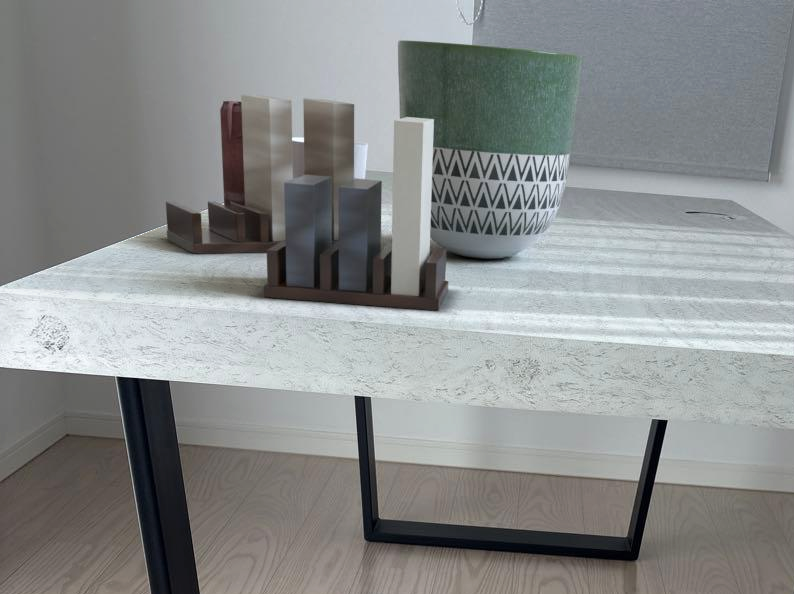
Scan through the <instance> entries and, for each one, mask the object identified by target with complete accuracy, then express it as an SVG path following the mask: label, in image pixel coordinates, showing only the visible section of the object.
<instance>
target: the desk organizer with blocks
mask: <svg viewBox="0 0 794 594" xmlns="http://www.w3.org/2000/svg"><path fill="white" fill-rule="evenodd" d="M382 183H383V181H382V180H380V179H379V180H376V179H366V178H365V179H354V180H352V181H350V182H348V183H346V184H344V185H342V186H340V187H339V240H338V241H337V242H336V243H334V244H333V245H332V177H329V176H316V175H303V176H301V177H298V178H296V179H293V180H290V181H288V182H285V183H284V192H285V240H283V241H281V242H280V243H278V244H276V245H275V246H273V247H271V248H270V249H268V250H267V252H266V271H267V272H266V274H267V275H266V276H267V277H266V279H267V283H266V284H265V285H264V286H263V294H264V295H263V296H264V298H270V299H283V300H293V301H294V300H295V301H307V302H309V301H310V302H319V303H321V302H322V303H333V304H347V305H359V306H371V307H372V306H373V307H385V308H397V309H398V308H399V309H413V310H423V311H436V312H438V311H439V310H440V309H441V307H442V304H443V302H444V300H445V298H446V296H447V295H448V292H449V280H446V272H447V271H446V270H447V250H446V248H442V247H440V246H437V247H436V248H435V249H434V251H433V252H432V254H431V255H430V256H429V260H428V261H427V262H426V284H425V287H424V288H423V290H422V292H421V293H420V295H419V296H407V295H394V294H391V266H392V242H390V243H389V242H388V243H387V244H386V245H385V246H384V247H383V248H382V191H383V190H382V187H383V185H382Z"/></svg>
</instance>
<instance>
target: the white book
mask: <svg viewBox="0 0 794 594" xmlns="http://www.w3.org/2000/svg"><path fill="white" fill-rule="evenodd" d="M433 132H434V119H426V118H414V117H405V118H401V119H400V118H397V119H394V121H393V159H392V160H393V162H392V163H393V165H392V166H393V168H392V170H393V171H392V211H391V212H392V213H391V215H392V218H391V244H392V266H391V294H394V295H407V296H419V295H420V293H421V292H422V290H423V288H424V287H425V284H426V262H427V261H428V260H429V258H430V256H431V255H430V252H431V249H430V248H431V238H430V224H431V193H432V162H433Z"/></svg>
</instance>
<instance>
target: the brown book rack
mask: <svg viewBox="0 0 794 594" xmlns="http://www.w3.org/2000/svg"><path fill="white" fill-rule="evenodd" d="M240 100H241V101H240V102H241V104H242V132H243V160H244V189H245V204H242V203H240V202H230V207H228V206H225V205H224V203H223V204H222V203H220V202H218V201H214V200H212V201H207V215H208V229H203V225H202V224H203V223H202V213H201V212H199V211H197V210H194V209H192V208H190V207H188V206H185V205H183V204H180V203H178V202H176V201H174V200H173V201H172V200H166V201H165V211H166V213H165V214H166V227H167V229H166V240H167V241H169V242H171V243H173V244H175V245H176V246H178V247H180V248H182V249H184V250H186V251H188V252H190V253H192V254H195V255H196V254H197V255H198V254H236V253H237V254H242V253H243V254H244V253H246V254H247V253H267V250H268V249H270V248H271V247H273V246H275V245H276V244H278V243H280V242H281V241H283V240H285V192H284V183H285V182H288V181H290V180H293V162H292V138H293V116H292V115H293V113H292V112H293V111H292V100H291V99H285V98H280V97H273V96H267V95H258V94H257V95H255V94H241V95H240ZM302 102H303V138H304V175H316V176H329V177H332V245H333V244H334V243H336V242H337V241H338V240H339V187H340V186H342V185H344V184H346V183H348V182H350V181H352V180H354V141H355V104H354V103H349V102H342V101H337V100H330V99H321V98H308V97H307V98H305V97H304V98H303V101H302Z"/></svg>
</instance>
